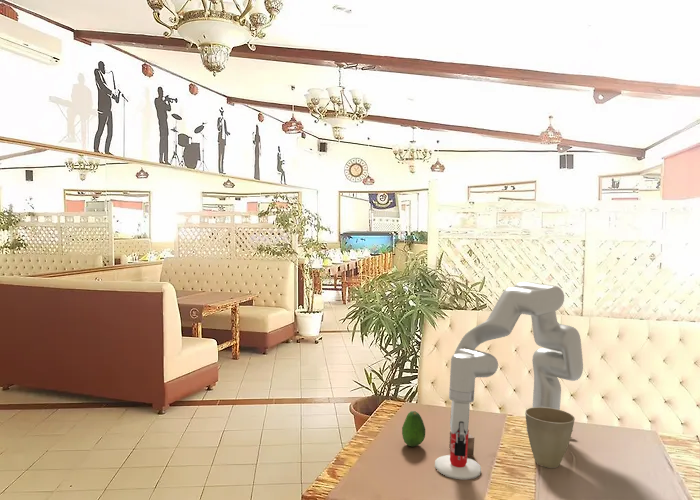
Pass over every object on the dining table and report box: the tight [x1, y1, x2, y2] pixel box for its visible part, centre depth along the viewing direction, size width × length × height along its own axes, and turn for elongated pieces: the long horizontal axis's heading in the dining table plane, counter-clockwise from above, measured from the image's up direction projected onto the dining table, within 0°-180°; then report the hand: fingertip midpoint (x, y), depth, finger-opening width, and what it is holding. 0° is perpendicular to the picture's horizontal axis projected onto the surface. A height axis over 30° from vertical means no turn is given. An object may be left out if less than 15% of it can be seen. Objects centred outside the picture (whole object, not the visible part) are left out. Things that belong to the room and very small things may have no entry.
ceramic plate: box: [434, 454, 482, 481], centre depth 165 cm, size 14×14×1 cm
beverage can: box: [449, 429, 470, 468], centre depth 165 cm, size 5×5×12 cm
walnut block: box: [448, 430, 475, 457], centre depth 178 cm, size 6×6×6 cm
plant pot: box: [524, 406, 576, 469], centre depth 172 cm, size 15×15×16 cm
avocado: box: [401, 410, 426, 447], centre depth 181 cm, size 8×8×12 cm
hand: (458, 448), depth 165 cm, fingers open, 9 cm apart
